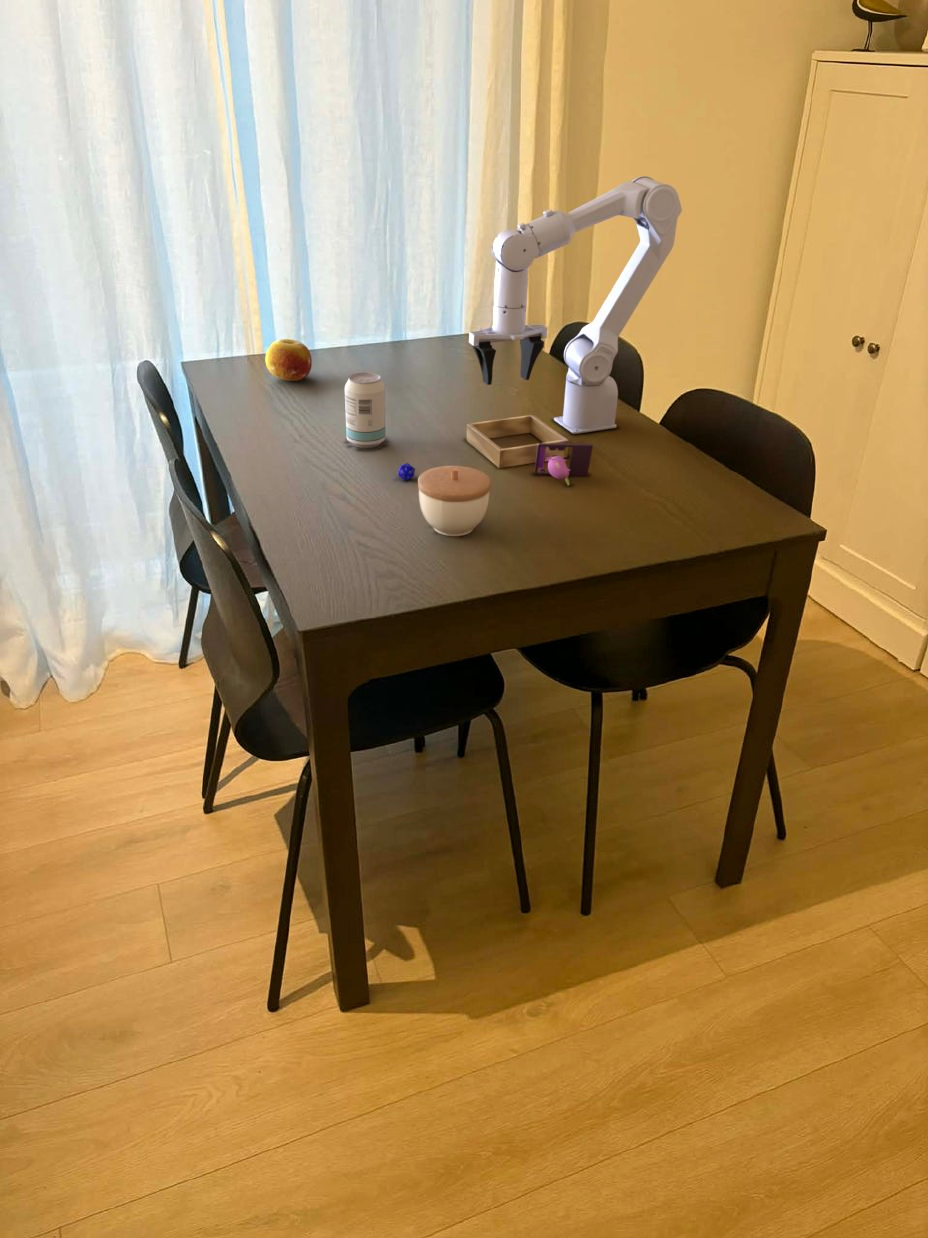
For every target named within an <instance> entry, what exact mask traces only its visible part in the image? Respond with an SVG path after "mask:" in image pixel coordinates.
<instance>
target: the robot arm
mask: <svg viewBox="0 0 928 1238" xmlns="http://www.w3.org/2000/svg"><path fill="white" fill-rule="evenodd" d="M682 210H683V208H682V204H681V200H680V197H679V194H678V192H677V190H676V189H675V187H673V186H672V185H671V184H668V183H662V182H660V181H658V180H655V179H654V178H652V177H651V176H646V175H642V176H638V177H636V178H634V179H633V180H632V181H631V180H628V181H625V182H622V183H621V184H619V185H617V186H616V187H614V188H613V189H611V190H609V191H607V192H605V193H603V194H600V195H599V196H597V197H595V198H594V199H592V200H589V201H588V202H585V203H584V204H582V205H580V206H578V207H577V208H574V209H573V210H570V211H568V212H567V213H566V212H564V211H563V210H560V209H556V210H552V209H550V208H548V209H546V210H544V211H543V215H542V216H540V217H538V218H536V219H533V220H532V221H528V222H527V223H524V222H521V223H518V224H517V229H513V228H507V229H504V230H502V231H500V232H499V233H498V234H497V237H495V239H494V241H493V244H492V245H491V253H492V256H493V258H494V259H495V260H496V261H495V274H494V275H495V276H494V287H493V289H494V290H493V312H492V315H493V316H492V327H487V328H484V329H483V328H482V329H479V330H475V331H469V333H468V344H470V345H471V347H472V349H473V351H474V353H475V355H476V358H477V361H478V364H479V367H480V371H481V376H482V382H483V383H484V384H485V385H487V386H490V385H492V383H493V367H494V361H495V357H496V353H497V350H496V349H495V348H493V345H492V344H495V343H503V342H512V341H519V344H520V345H519V346H520V354H521V355H520V378H522V379H523V380H525V381H529V380H530V378H531V374H532V371H533V368H534V366H535V363H536V361H537V359H538V356H539V355H540V354H541V352H542V350H543V349H544V348H545V341H544V340H543V339H547V338H548V327H547V326H545V325H544V324H526V323H527V321H526V320H527V304H528V287H529V267H530V266H531V265H532V264H533V262H534V261H535V259H538V258H540V257H542V256H545V255H546V254H548V253H551V252H553V251H556V250H558V249H560V248H562V247H565V246H566V245H568V244H570V243H571V241H572V239H573V236H574V235H575V233H576V232H579V231H581V230H584V229H587V228H589V227H592V226H595V225H597V224H599V223H602V222H604V221H607V220H609V219H611V218H614V217H617V216H622V217H627V218H632V219H633V220H634V221H635V223H636V227H637V232H638V236H639V239H640V241H639V243H638V244H637V246H636V248H635V250H634V252H633V253H632V255H631V257H630V258H629V260H628V262H627V264H626V265H625V267H624V268H623V270H622V272H621V274H620V275H619V277H618V279H616V282H615V283H614V286H613V287H612V289H611V290H610V292H609V293H608V296H607V297H606V299H605V300H604V302H603V304H602V305H601V307H600V309H599V310H598V311H597V313H596V316H595V317H594V318H593V320H592V322H590V323H588V324H586V325H584V326H583V327H582V328H581V329H580V331H579V333H578V334H577V335H576V336H575V337H574V338H572V339H571V340H569V341H568V343H567V344H566V346H565V348H564V351H563V359H564V362H565V364H566V366H568V371H567V372H566V377H565V390H564V401H563V412H562V416H556V417H553V421H554V422H555V423H557V424H559V425H560V426H561V427H563V428H564V429H566V430H567V431H568V432H570V433H571V434H575V435H576V434H577V435H578V434H584V433H591V432H597V431H605V430H611V429H616V428H617V427H618V426H617V424H616V416H617V415H616V414H617V407H618V398H619V390H618V384H617V382H616V381H615V379H614V378H613V377H612V376H610V375H611V372H612V369H613V364H614V363H613V362H614V360H615V357H616V356H617V354H618V352H619V337H620V335H621V333H622V332H623V330H624V328H625V327H626V325H627V323H628V322H629V320H630V318H631V317H632V316H633V314H634V312H635V311H636V309H637V308H638V305H639V304H640V302H641V301H642V299H643V297H644V296H645V294H646V292H647V290H648V289H649V287H650V286H651V285H652V282H653V281H654V280H655V277H656V276H657V274H658V273H659V271H660V270H661V268H662V266H663V264H664V263H665V261H666V260H667V258H668V256H669V255H670V254H671V251H672V250H673V248H674V245H675V239H676V233H677V232H676V231H677V226H678V225H677V224H678V218H679V216H680V215H681V214H682V212H683V211H682Z"/></svg>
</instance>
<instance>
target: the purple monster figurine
mask: <svg viewBox="0 0 928 1238" xmlns="http://www.w3.org/2000/svg"><path fill="white" fill-rule="evenodd" d="M538 443H539V444H538ZM538 443H537V444H538V447H537V456H536V462H535V463H534V471H533V472H534V475H535V476H552V477H553V478H554V479H556V480H565V484H566V486H570V484H571V483H570V480H569V476H581V477H582V476H585V477H587V476H588V474H589V469H590V463H591V458H592V453H593V444H592V443H569V444H562V443H543V442H538ZM566 447H568V448H571V454H570V460H569V466H567V464H566V462H567V459H565V458H562V457H560V456H557V455H553V456H552V457H551V456H550V457H547V458H546V459H547V460H546V461H544V456H545V452H546V450H547V449H548V448H549V449H550V450H556V448H557V449H558V450H564V449H565V448H566ZM545 462H548V463H547V470H548V472H547V471H546V469H545V468H544V464H545ZM539 470H540V471H539Z"/></svg>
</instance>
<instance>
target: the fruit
mask: <svg viewBox="0 0 928 1238" xmlns="http://www.w3.org/2000/svg"><path fill="white" fill-rule="evenodd" d="M264 360H265V365H266V369H267V370H268V371H269V373H270V374H271V375H272V376H273V377H274V378H277V379H280V380H283V381H289V382H298V381H301V380H303V379H305V378H307V377H308V375H310V372H311V371H312V367H313V365H312V361H313V360H312V354H311V352H310V350H309V348H308V347H307V346H306V345H305V343H302V342H300V341H298V340H295V339H289V338H282V339H277V340H274V341H273V342H272V343H271V344H270V345H269V346H268V347H267V350H266V353H265V359H264Z"/></svg>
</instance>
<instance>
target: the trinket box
mask: <svg viewBox="0 0 928 1238" xmlns="http://www.w3.org/2000/svg"><path fill="white" fill-rule="evenodd" d="M491 481H492V480H491V478H490V477H489V476H488V475H487V474H486V473H485V472H483V471H482V470H479V469H476V468H473V467H469V466H462V465H443V466H437V467H436V466H435V467H433V468H430V469H428V470H425V471H423V472H422V473H421V474H420V475H419V477H418V478H417V488H418V502H419V507H420V511H421V513H422V516H423V518H424V519H425V521H426V522H427V523H428V524H429V525H430V526H431V527H432V528H433V530H434V531H435V532H436V533H438V534H440V535H442V536H447V537H460V536H465V535H468V534H470V533H471V532H472V531H474V529H475V528H476V527H477V526H478V525H479V524H480V523H481V522H482V521H483V519H484V517H485V516H486V513H487V510H488V506H489V502H490V493H491V485H492V482H491Z"/></svg>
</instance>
